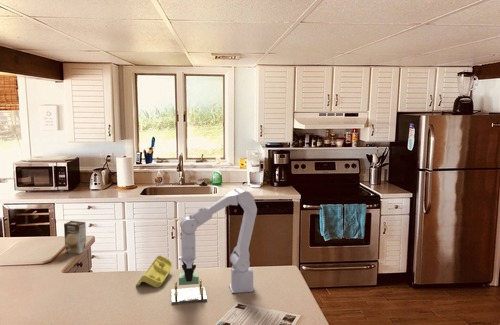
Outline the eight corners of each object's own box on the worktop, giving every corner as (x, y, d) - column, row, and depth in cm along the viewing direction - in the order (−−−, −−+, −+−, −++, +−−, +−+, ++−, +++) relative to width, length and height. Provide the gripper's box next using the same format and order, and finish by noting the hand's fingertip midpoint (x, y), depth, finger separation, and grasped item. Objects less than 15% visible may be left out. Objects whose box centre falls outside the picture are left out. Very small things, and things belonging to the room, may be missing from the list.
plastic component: (161, 284, 161) (140, 273, 161) (154, 297, 163) (134, 287, 163) (175, 262, 181) (156, 253, 181) (169, 274, 182) (151, 265, 182)
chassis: (204, 288, 162) (204, 277, 162) (206, 301, 152) (206, 289, 151) (171, 291, 159) (171, 280, 159) (171, 304, 149) (171, 292, 148)
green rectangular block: (198, 278, 158) (198, 272, 157) (198, 283, 153) (198, 276, 153) (178, 280, 156) (178, 273, 156) (178, 285, 151) (178, 278, 151)
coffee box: (64, 252, 201) (63, 223, 199) (72, 248, 208) (70, 220, 206) (79, 254, 200) (78, 225, 198) (87, 249, 206) (85, 221, 204)
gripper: (178, 241, 159) (178, 271, 161) (178, 253, 145) (179, 286, 147) (194, 240, 160) (195, 270, 162) (197, 252, 146) (197, 285, 148)
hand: (188, 278), depth 154 cm, fingers closed on green rectangular block, 5 cm apart
